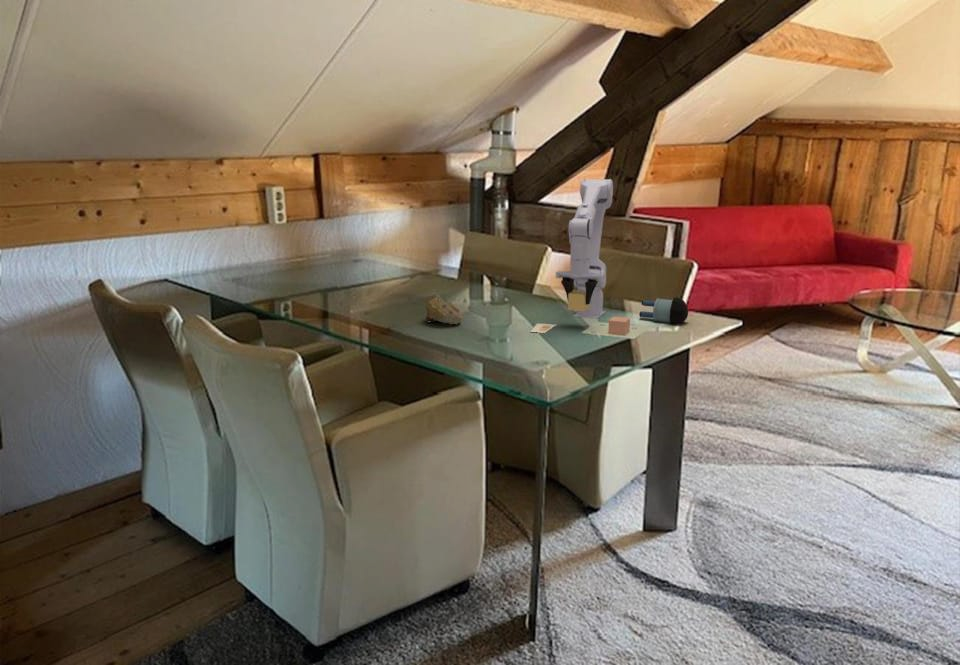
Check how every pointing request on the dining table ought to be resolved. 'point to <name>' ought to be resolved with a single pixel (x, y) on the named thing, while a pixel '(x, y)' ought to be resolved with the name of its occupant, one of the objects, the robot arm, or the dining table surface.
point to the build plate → (602, 329)
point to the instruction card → (542, 328)
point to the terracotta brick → (619, 325)
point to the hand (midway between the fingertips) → (579, 303)
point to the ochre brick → (577, 301)
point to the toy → (666, 310)
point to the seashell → (442, 311)
